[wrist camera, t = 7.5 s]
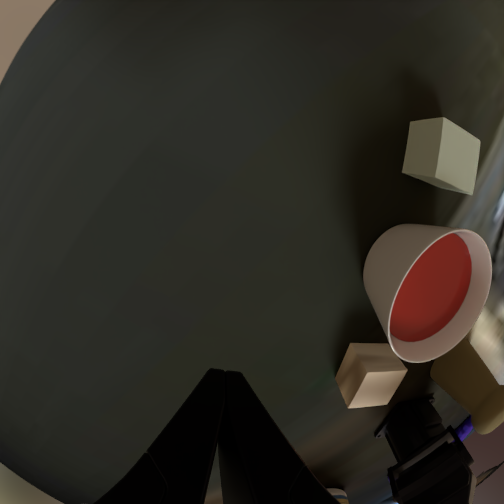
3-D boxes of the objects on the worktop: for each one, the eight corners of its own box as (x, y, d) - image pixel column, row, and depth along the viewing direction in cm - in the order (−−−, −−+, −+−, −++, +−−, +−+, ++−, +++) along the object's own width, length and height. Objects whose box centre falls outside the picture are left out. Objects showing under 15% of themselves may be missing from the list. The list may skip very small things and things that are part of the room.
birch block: (371, 376, 23) (387, 404, 19) (334, 377, 23) (347, 408, 19) (387, 342, 22) (407, 370, 18) (349, 342, 21) (367, 372, 18)
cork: (458, 330, 22) (520, 390, 12) (474, 347, 24) (525, 400, 13) (421, 372, 24) (471, 442, 13) (441, 384, 25) (485, 444, 14)
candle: (335, 316, 20) (367, 368, 14) (362, 198, 18) (415, 217, 12) (422, 316, 21) (461, 355, 15) (450, 219, 19) (504, 240, 12)
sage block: (438, 187, 18) (472, 195, 14) (401, 172, 17) (435, 177, 13) (446, 140, 17) (480, 141, 13) (409, 121, 16) (443, 117, 12)
